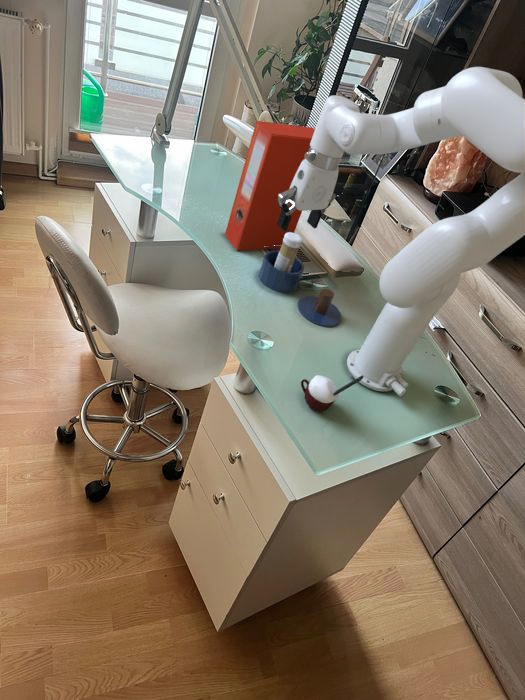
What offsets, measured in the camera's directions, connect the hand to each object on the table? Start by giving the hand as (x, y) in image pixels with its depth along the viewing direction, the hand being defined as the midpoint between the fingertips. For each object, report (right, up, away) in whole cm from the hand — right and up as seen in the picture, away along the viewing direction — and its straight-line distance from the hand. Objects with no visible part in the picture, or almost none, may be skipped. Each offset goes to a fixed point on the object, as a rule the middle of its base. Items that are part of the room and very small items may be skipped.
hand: (296, 226), depth 120 cm
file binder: (-10, +1, +23) cm, 25 cm away
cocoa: (+3, -41, -19) cm, 45 cm away
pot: (-4, -12, +10) cm, 16 cm away
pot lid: (+6, -20, +5) cm, 21 cm away
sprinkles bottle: (-4, -12, +10) cm, 16 cm away
